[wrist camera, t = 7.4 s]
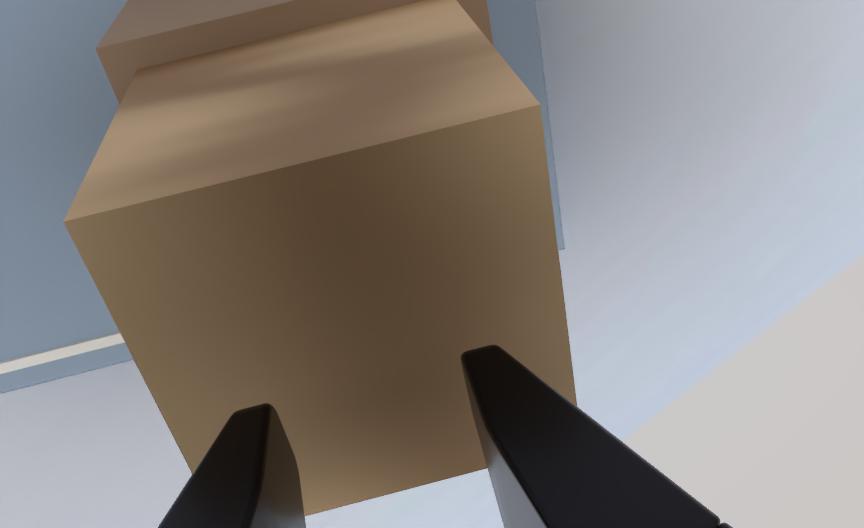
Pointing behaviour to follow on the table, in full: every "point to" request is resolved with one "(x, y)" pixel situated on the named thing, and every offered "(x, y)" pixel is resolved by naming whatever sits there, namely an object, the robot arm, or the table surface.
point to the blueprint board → (87, 126)
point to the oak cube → (331, 242)
